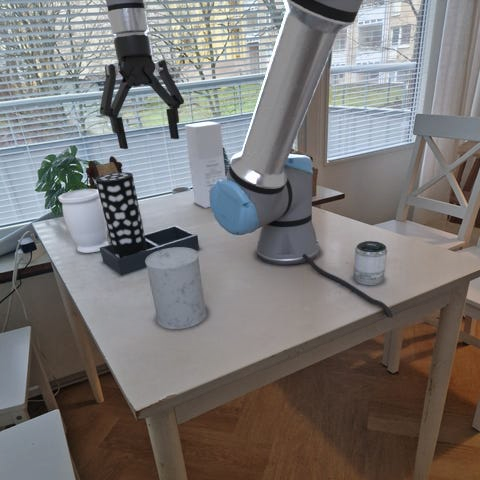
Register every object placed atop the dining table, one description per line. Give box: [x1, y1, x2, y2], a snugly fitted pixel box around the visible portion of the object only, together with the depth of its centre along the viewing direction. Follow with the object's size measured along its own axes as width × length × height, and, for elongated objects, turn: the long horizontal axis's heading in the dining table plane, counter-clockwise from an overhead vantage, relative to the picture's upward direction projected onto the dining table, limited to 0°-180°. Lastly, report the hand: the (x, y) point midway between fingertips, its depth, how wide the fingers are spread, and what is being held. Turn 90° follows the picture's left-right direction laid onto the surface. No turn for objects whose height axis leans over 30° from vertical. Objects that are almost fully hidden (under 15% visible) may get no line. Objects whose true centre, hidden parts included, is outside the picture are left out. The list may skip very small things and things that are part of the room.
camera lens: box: [353, 240, 388, 286], centre depth 89 cm, size 6×6×8 cm
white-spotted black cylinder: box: [94, 171, 148, 259], centre depth 103 cm, size 8×8×20 cm
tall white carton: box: [184, 121, 226, 209], centre depth 142 cm, size 9×9×25 cm
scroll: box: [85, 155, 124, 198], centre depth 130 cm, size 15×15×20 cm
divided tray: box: [99, 224, 200, 277], centre depth 110 cm, size 11×22×4 cm, turn 127°
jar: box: [57, 188, 110, 254], centre depth 115 cm, size 11×10×15 cm
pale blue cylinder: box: [145, 247, 207, 330], centre depth 80 cm, size 10×10×12 cm
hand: (150, 143), depth 101 cm, fingers open, 13 cm apart
